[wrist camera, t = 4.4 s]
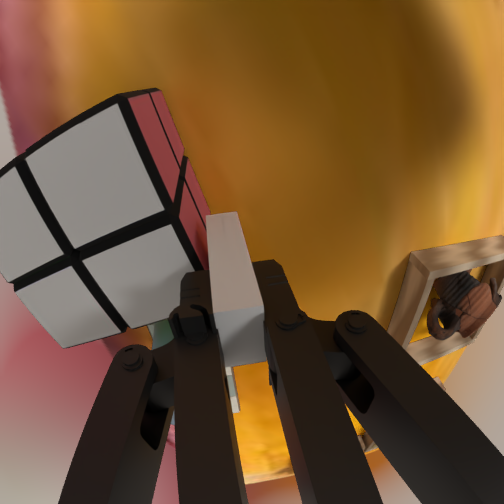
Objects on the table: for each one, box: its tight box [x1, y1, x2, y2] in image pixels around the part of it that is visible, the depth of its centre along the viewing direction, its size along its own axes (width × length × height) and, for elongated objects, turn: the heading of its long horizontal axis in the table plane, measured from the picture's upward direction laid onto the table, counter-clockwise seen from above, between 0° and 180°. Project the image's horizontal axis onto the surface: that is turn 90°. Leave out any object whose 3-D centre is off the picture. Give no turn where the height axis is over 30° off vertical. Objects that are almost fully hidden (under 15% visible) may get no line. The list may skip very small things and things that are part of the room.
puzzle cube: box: [0, 88, 211, 348], centre depth 15 cm, size 10×10×10 cm
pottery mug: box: [427, 269, 502, 340], centre depth 30 cm, size 12×10×8 cm
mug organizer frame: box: [387, 235, 504, 365], centre depth 31 cm, size 17×17×4 cm
